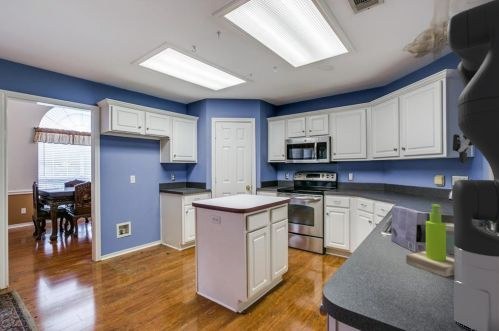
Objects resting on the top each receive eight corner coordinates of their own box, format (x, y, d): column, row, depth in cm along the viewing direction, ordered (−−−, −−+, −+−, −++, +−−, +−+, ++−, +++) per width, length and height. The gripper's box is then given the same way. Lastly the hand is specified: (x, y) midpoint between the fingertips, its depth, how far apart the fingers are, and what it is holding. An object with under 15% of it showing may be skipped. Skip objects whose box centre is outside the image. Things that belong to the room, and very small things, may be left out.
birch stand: (444, 276, 79) (444, 267, 80) (406, 262, 92) (406, 254, 92) (467, 270, 84) (467, 262, 84) (428, 258, 96) (427, 250, 96)
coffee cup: (461, 251, 105) (461, 224, 105) (467, 257, 97) (466, 228, 98) (437, 248, 109) (436, 221, 109) (440, 253, 102) (440, 225, 102)
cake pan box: (429, 254, 101) (428, 212, 101) (417, 254, 101) (416, 212, 101) (400, 241, 120) (400, 205, 120) (390, 240, 120) (390, 205, 120)
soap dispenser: (428, 260, 86) (427, 204, 86) (424, 254, 92) (424, 202, 93) (448, 263, 83) (448, 205, 84) (444, 257, 89) (443, 203, 90)
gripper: (447, 118, 86) (448, 163, 86) (501, 108, 73) (502, 162, 72) (460, 119, 89) (460, 163, 88) (514, 111, 76) (514, 162, 75)
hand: (479, 162), depth 80 cm, fingers open, 8 cm apart
